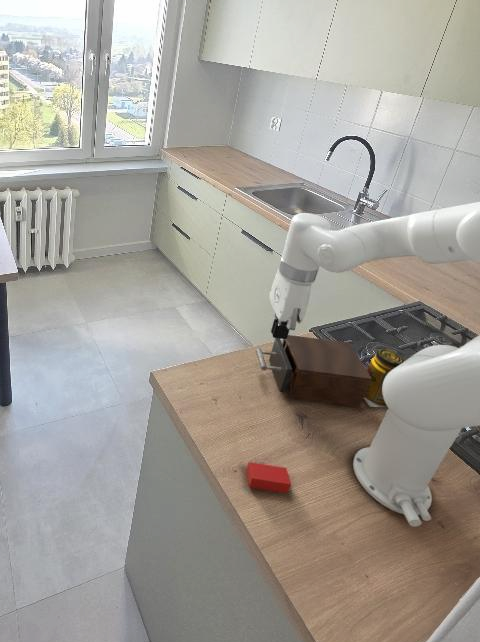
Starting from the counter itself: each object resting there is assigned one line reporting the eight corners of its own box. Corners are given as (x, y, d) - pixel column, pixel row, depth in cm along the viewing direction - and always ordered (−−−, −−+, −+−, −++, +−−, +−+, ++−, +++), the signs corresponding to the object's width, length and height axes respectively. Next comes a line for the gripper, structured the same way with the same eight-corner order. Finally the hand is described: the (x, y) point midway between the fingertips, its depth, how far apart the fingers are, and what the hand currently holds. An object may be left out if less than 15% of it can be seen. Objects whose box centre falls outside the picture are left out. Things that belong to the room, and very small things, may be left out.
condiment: (351, 382, 103) (367, 344, 98) (385, 383, 103) (402, 346, 98) (369, 407, 96) (386, 368, 91) (405, 408, 96) (424, 369, 91)
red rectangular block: (283, 476, 80) (286, 467, 79) (287, 493, 77) (291, 484, 76) (245, 470, 81) (248, 461, 80) (249, 487, 78) (251, 478, 77)
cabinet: (289, 398, 97) (299, 369, 93) (276, 362, 108) (284, 334, 104) (359, 408, 96) (372, 378, 92) (339, 370, 106) (349, 342, 102)
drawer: (259, 389, 98) (265, 366, 95) (250, 357, 107) (255, 335, 105) (344, 401, 96) (354, 377, 93) (327, 367, 106) (335, 345, 103)
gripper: (271, 250, 97) (255, 313, 105) (290, 287, 84) (270, 357, 91) (304, 253, 97) (285, 317, 104) (329, 291, 83) (305, 361, 90)
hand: (278, 335), depth 97 cm, fingers closed
